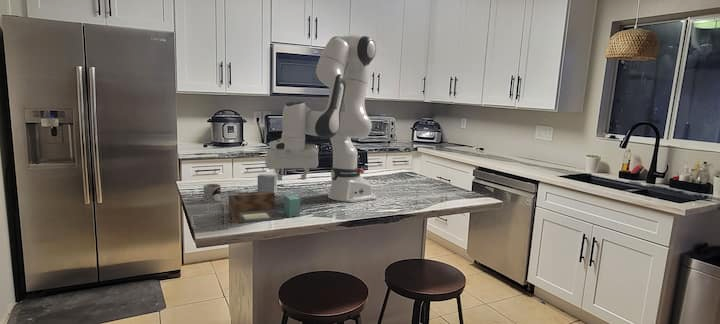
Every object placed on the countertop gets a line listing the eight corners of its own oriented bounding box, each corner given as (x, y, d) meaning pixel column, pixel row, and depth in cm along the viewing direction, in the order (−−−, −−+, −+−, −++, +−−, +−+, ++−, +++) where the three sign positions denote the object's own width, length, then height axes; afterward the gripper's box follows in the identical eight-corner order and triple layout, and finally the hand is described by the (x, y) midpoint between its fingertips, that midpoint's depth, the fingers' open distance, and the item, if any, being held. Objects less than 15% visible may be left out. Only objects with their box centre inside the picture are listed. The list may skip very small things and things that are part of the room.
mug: (215, 203, 171) (215, 188, 170) (200, 202, 172) (200, 186, 171) (227, 197, 181) (227, 183, 180) (213, 196, 182) (212, 181, 181)
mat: (274, 210, 166) (274, 208, 166) (283, 219, 156) (283, 217, 156) (233, 213, 159) (233, 212, 159) (239, 223, 148) (239, 222, 148)
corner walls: (273, 209, 167) (273, 192, 166) (283, 219, 156) (283, 200, 154) (228, 213, 160) (228, 195, 158) (235, 223, 148) (235, 204, 147)
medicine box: (276, 192, 193) (277, 174, 192) (274, 195, 189) (274, 176, 188) (260, 191, 194) (260, 173, 193) (257, 193, 190) (257, 175, 188)
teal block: (294, 211, 166) (294, 194, 165) (299, 216, 160) (300, 198, 159) (284, 212, 164) (284, 195, 163) (289, 217, 158) (290, 199, 157)
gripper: (315, 143, 165) (314, 177, 167) (264, 142, 156) (263, 178, 158) (321, 145, 159) (319, 180, 161) (269, 144, 150) (267, 182, 152)
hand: (291, 179), depth 159 cm, fingers open, 8 cm apart
